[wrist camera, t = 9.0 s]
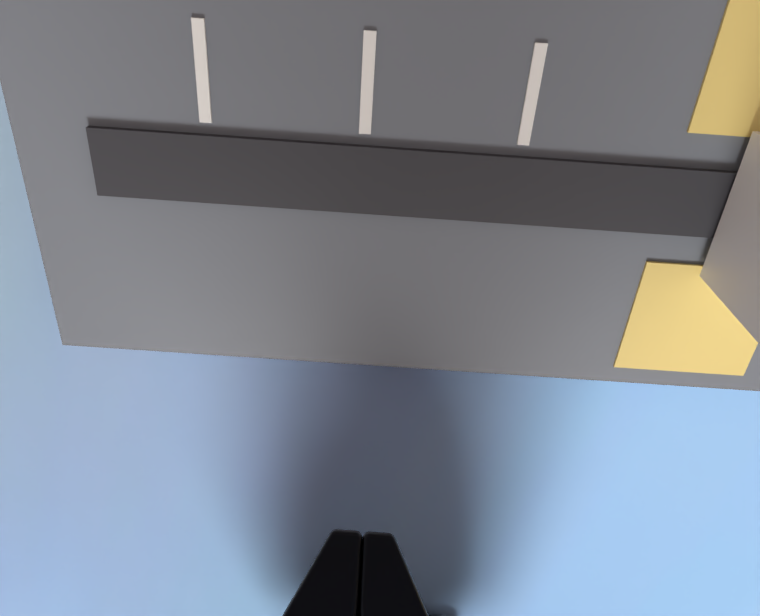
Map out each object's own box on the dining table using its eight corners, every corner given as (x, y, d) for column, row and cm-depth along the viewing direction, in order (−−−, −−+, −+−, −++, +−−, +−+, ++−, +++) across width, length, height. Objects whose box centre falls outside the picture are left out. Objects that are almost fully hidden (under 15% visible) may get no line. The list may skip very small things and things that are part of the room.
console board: (862, 371, 21) (897, 403, 20) (83, 319, 21) (59, 348, 19) (1094, -36, 15) (1169, -32, 13) (-9, -119, 15) (-54, -125, 13)
